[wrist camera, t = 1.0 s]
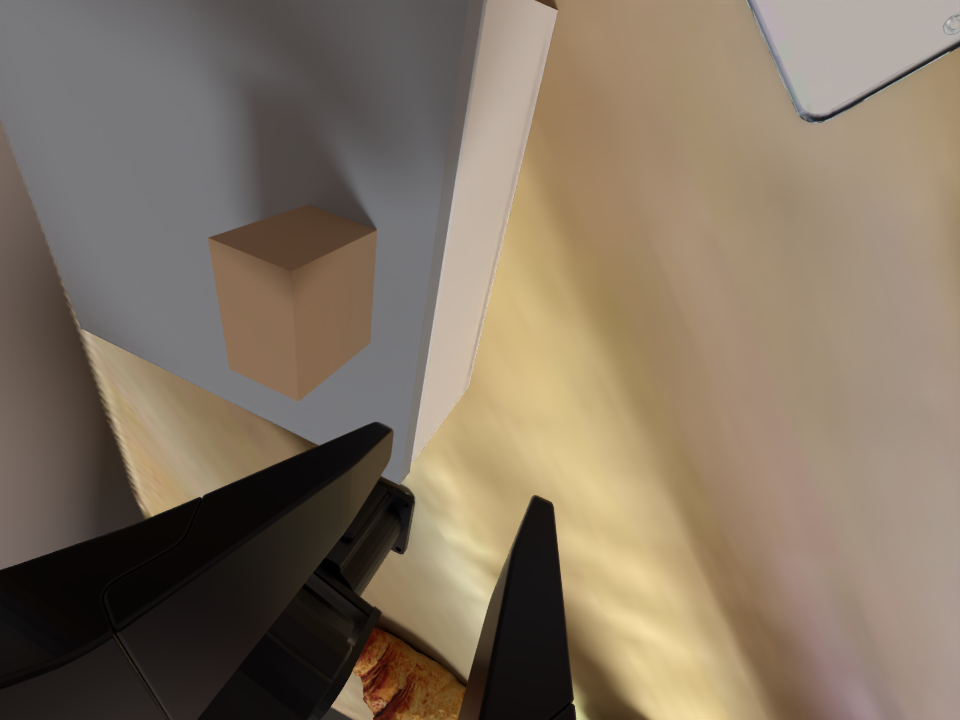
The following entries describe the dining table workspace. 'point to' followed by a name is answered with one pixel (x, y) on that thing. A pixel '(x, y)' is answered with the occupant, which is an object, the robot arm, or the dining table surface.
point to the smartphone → (852, 46)
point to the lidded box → (483, 195)
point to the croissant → (405, 682)
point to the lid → (250, 189)
